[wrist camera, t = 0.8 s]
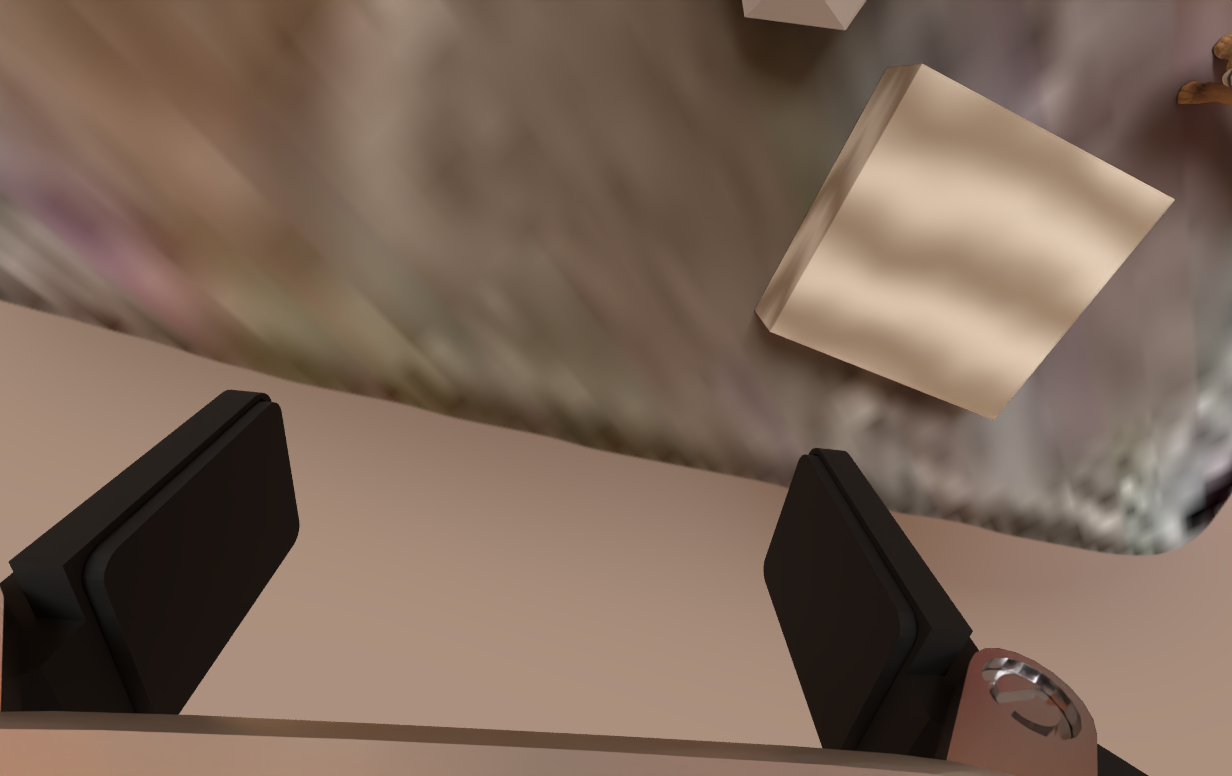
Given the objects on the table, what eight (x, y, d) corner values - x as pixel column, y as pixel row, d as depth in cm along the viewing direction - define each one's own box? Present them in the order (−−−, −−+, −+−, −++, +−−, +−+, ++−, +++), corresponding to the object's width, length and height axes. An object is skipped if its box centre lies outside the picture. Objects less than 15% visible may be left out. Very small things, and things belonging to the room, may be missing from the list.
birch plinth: (886, 67, 33) (922, 63, 29) (1118, 189, 36) (1174, 199, 33) (754, 310, 39) (769, 331, 36) (960, 393, 43) (993, 420, 39)
